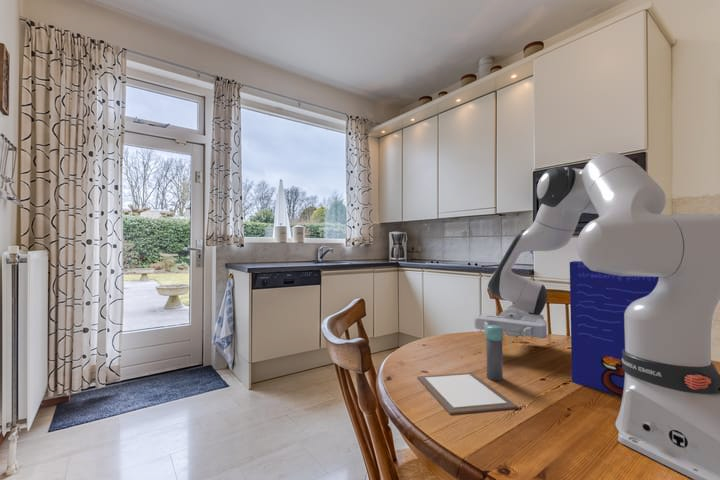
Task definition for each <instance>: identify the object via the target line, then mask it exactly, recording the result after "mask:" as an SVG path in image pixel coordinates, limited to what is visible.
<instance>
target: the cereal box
mask: <svg viewBox="0 0 720 480" xmlns="http://www.w3.org/2000/svg"><path fill="white" fill-rule="evenodd" d="M658 279H659V277H641V276H617V275H611V274H605V273H601V272H596V271H592V270H590V269H589V268H588V267H586V265H585V264H584V263H583V262H582V260H572V261H569V296H570V297H569V298H570V299H569V303H570V305H569V307H570V348H571V350H570V351H571V352H570V356H571V383H573V384H574V383H575V384H578V385H581V386H583V387H588V388H591V389H594V390H598V391H601V392H605V393H608V394H612V395H615V396H618V397H621V398H622V397H623V390H624V379H625V372H624V370H623V369H622V350H623V349H625V329H624V313H625V310H626V309H627V307H628V306H629V305H630V304H631V303H632V302H634V301H635V300H637V299H640V298H642V297H645V296H647V295H649V294H650V293H651V292H652V291H653V290H654V288H655V287H656V285H657V283H658Z"/></svg>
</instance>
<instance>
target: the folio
mask: <svg viewBox="0 0 720 480" xmlns="http://www.w3.org/2000/svg"><path fill="white" fill-rule="evenodd" d="M416 379H417V380H418V381H419V382H420V383H421V384H422V385H423V386H424V387H425V388H426V390H427V391H428V392H429V393H430V394H431V396H433V397H434V399H435V400H436V401H437V402H439V404H440V405H441V406H442V407H443V408H444V409H445V411H446V412H447V413H448V414H449V415H458V414H459V415H460V414H470V413H479V412H480V413H481V412H491V411H493V412H494V411H501V410H502V411H503V410H510V409H513V410H514V409H519V406H518V405H517V404H515V403H514V402H513V401H511V400H510V398H507V397H506V396H504V395H503V394H501V393H500V392H499V391H497V389H495V388H493V387H492V386H491V385H489V384H488V383H486V382H485V381H484V380H482V379H481V378H479V377H478V376H477V375H475V373H473V372H463V373H462V372H461V373H448V374H447V373H446V374H434V375H433V374H432V375H421V376H419V375H417V378H416Z"/></svg>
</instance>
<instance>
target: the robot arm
mask: <svg viewBox="0 0 720 480" xmlns="http://www.w3.org/2000/svg"><path fill="white" fill-rule="evenodd" d="M536 186H537V187H536V197H537V200H538V201H539V203H540V206H539V209H538V210H537V213H536V216H535V219H534V221H533V223H532V224H531V226H530V227H528V228H527V229H521V231H519V232H518V233H517V234H516V235H515V237H514V239H513V240H512V242H511V244H510V245H509V247H508V249H507V251H506V252H505V254H504V256H503V257H502V258H501V259H502V260H500V263H499V264H498V266H497V268H496V269H495V271H494V272H493V273H492V274H491V276H490V278H489V280H488V285H487V288H488V290H489V292H490V294H491V295H492V296H493V297H496V298H498V299H502V300H505V301H508V302H510V303H512V304H511V305H509V306H508V307H507V308H505V309H504V310H503V311H501V312H500V314H499V315H494V314H493V315H492V314H480V315H477V316H475V317H474V320H473V321H474V325H473V326H474V328H475V329H477V330H483V331H485V332H486V326H487V325H496V326H501V327H502V328H503V333H504V334H505V335H506V336H507V335H508V336H510V337H514V338H515V337H516V338H517V337H524V338H525V337H531V338H532V337H533V338H539V339H546V338H547V337H548V334H547V333H548V328H547V325H548V324H547V320H546V319H545V316H544V315H543V314H541V313H542V312H543V310H544V308H545V306H546V304H547V301H548V296H549V294H548V290H547V289H546V286H545V285H544V284H543V283H541V282H538V281H535V280H532V279H530V278H527V277H524V276H521V275H519V274H516V273H515V272H513V270H512V269H513V267H514V265H515V264H516V262H517V260H518V259H519V257H520V256H521V254H523V253H525V252H551V251H555V250H559V249H562V248H564V247H565V246H567V245H568V244H569V242H570V241H571V239H572V238H573V235H574V233H575V231H576V229H577V226H578V224H579V220H580V217H581V216H582V214H584V213H585V214H594V215H598V217H597V218H595V219H593V220H591V221H589V222H588V223H587V224H586V225H585V226H584V227H583V228H582V229H581V231H580V233H579V235H578V238H577V241H576V249H577V250H576V251H577V254H578V256H579V259H580V261H582V262H583V263H584V264H585V265H586V267H588V268H589V269H590V270H592V271H596V272H601V273H605V274H611V275H617V276H641V277H659V279H658V283H657V285H656V287H655V288H654V290H653V291H652V292H651V293H650V294H649V295H647V296H645V297H642V298H640V299H637V300H635V301H634V302H632V303H631V304H630V305H629V306H628V307H627V309H626V310H625V313H624V329H625V349H623V350H622V369H623V370H624V372H625V379H624V390H623V397H622V396H621V404H620V407H619V412H618V414H617V415H618V416H617V417H616V420H615V422H614V423H615V427H616V429H617V430H618V433H617V434H618V435H617V441H618V442H619V443H620V444H622V445H624V446H625V447H628V448H630V449H632V450H634V451H636V452H638V453H640V454H643V455H645V456H646V457H649V458H650V459H652V460H655V461H656V462H658V463H660V464H662V465H664V466H666V467H669V468H670V469H672V470H674V471H676V472H679V473H681V474H683V475H685V476H687V477H689V478H690V479H692V480H720V373H719V371H718V369H717V367H716V366H715V364H714V363H713V362H712V357H711V356H712V351H711V349H712V348H711V347H712V345H711V344H712V342H711V341H712V324H713V323H712V322H713V317H714V314H715V310H716V308H717V305H718V303H719V301H720V214H712V213H693V214H692V213H688V214H687V213H686V214H662V213H663V212H664V209H665V207H666V204H667V203H666V200H667V199H666V194H665V190H663V188H662V187H661V186H660V185H659V184H658V183H657V182H656V181H655V180H654V179H653V178H652V176H650V174H649V173H648V172H647V171H646V170H645V169H643V167H641V165H639V164H638V163H636V162H635V161H634V160H632V159H631V158H629V157H627V156H626V155H623V154H620V153H617V152H604V153H600V154H598V155H596V156H594V157H592V158H591V159H590V160H589V161H588V162H587V163H586V164H585V165H584V167H583V168H575V167H573V168H572V167H571V166H562V167H561V166H560V167H559V166H558V167H552V168H549V169H547V170H546V171H544V172H543V173H542V174H541V175H540V178H539V180H538V183H537V185H536Z"/></svg>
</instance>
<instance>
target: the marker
mask: <svg viewBox="0 0 720 480" xmlns="http://www.w3.org/2000/svg"><path fill="white" fill-rule="evenodd" d="M503 335H504V334H503V328H502V327H501V326H496V325H487V326H486V331H485V340H486V341H485V342H486V344H485V345H486V354H485V355H486V378H487V379H488V380H490V381H494V382H500V381H501V382H502V381H503V380H504V377H503V376H504V374H503V372H504V370H503V369H504V368H503V340H504V338H503Z"/></svg>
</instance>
